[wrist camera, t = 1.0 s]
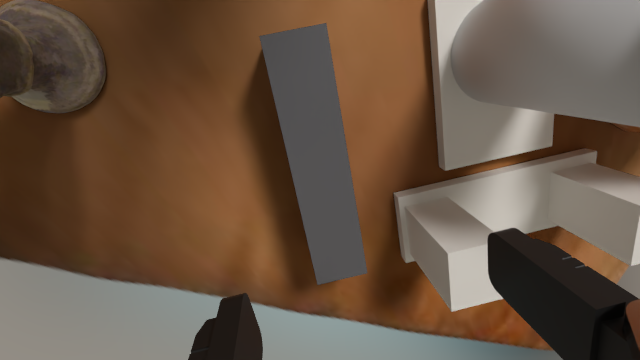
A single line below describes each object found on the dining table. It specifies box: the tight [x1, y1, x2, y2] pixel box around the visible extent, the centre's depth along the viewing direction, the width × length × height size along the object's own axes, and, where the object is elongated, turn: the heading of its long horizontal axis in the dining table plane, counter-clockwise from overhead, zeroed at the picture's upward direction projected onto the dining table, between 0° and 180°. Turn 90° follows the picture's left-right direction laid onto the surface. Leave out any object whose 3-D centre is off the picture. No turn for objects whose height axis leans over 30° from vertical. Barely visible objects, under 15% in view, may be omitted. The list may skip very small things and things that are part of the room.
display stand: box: [394, 0, 640, 311], centre depth 19 cm, size 22×19×19 cm
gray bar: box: [259, 23, 367, 285], centre depth 25 cm, size 18×4×6 cm, turn 11°
